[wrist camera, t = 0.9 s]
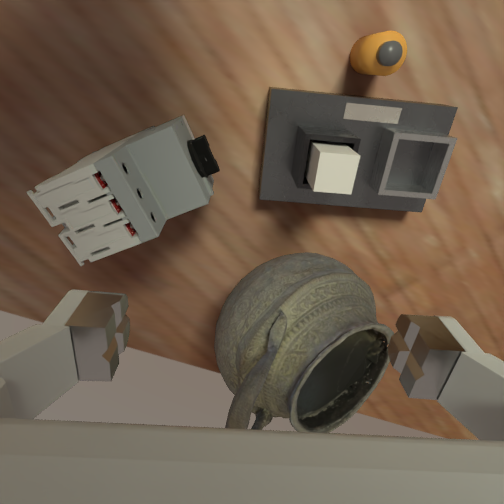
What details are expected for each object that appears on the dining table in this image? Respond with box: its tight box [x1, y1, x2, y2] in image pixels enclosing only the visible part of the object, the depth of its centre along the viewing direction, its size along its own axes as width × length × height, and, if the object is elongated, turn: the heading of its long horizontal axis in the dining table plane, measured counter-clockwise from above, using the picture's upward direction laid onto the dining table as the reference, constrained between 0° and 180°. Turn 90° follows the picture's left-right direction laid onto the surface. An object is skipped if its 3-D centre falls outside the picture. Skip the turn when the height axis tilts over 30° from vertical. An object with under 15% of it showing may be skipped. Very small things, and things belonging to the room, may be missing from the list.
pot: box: [214, 253, 394, 433], centre depth 41 cm, size 21×21×25 cm
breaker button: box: [305, 141, 360, 194], centre depth 34 cm, size 4×4×5 cm
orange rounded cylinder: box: [350, 31, 407, 76], centre depth 34 cm, size 4×4×7 cm
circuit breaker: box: [27, 115, 220, 266], centre depth 35 cm, size 8×14×15 cm, turn 111°
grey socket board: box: [259, 87, 458, 212], centre depth 39 cm, size 12×20×8 cm, turn 85°
